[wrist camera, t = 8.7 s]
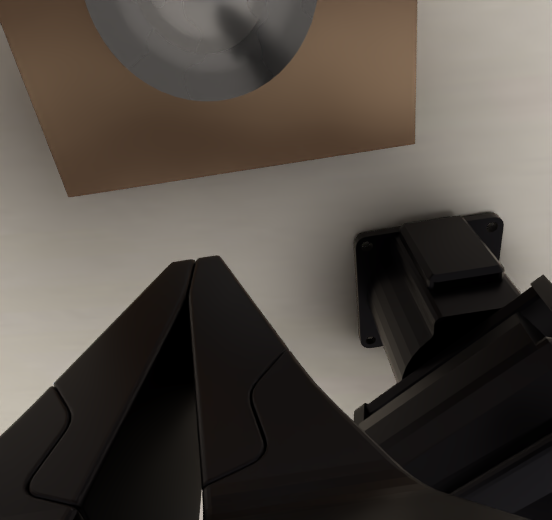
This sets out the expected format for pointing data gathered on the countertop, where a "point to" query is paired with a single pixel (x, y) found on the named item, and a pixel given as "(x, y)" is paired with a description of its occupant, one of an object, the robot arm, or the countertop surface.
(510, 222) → the countertop surface
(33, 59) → the base plate
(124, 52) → the metal and wood piece
